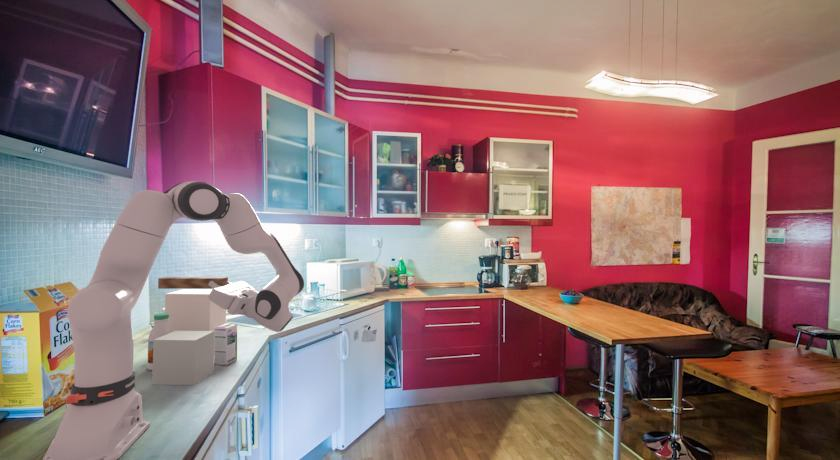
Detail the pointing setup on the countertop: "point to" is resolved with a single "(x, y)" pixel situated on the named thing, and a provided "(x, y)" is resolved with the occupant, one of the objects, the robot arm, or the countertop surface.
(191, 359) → the box
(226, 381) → the countertop surface
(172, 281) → the walnut rail
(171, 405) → the countertop surface
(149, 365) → the milk bottle
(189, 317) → the white box
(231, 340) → the syrup box
